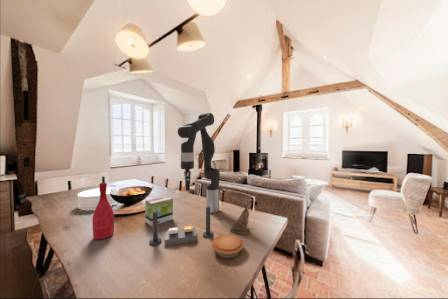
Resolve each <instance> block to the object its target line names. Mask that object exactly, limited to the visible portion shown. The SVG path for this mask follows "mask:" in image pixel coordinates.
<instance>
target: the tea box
mask: <svg viewBox="0 0 448 299" xmlns="http://www.w3.org/2000/svg"><path fill="white" fill-rule="evenodd" d="M144 202H145V203H144V204H145V205H144V210H145V211H144V213H145V214H144V222H145V223H146V224H148V225H149V226H150V227H152V228H153V212H154V211H157V212H158V225H161V224H163V223H165V222H169V221H172V220H174V219H173V218H174V217H173V216H174V199H173V198H171V197H170V196H168V195H163V196H159V197H156V198H150V199H147V200H145V201H144Z"/></svg>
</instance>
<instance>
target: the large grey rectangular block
mask: <svg viewBox="0 0 448 299" xmlns="http://www.w3.org/2000/svg"><path fill="white" fill-rule="evenodd" d="M192 228H193V231H189V232H184V228H181V229H179V228H178V230H177V233H174V234H168V232H169V230H167V231H165V236H164V246H171V245H172V246H173V245H179V244H186V243H192V242H197V232H196V227H192Z"/></svg>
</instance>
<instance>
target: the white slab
mask: <svg viewBox="0 0 448 299" xmlns="http://www.w3.org/2000/svg"><path fill="white" fill-rule="evenodd" d="M177 230H179V227H169V228H168V231H169V232H168V234H174V233H177Z"/></svg>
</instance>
